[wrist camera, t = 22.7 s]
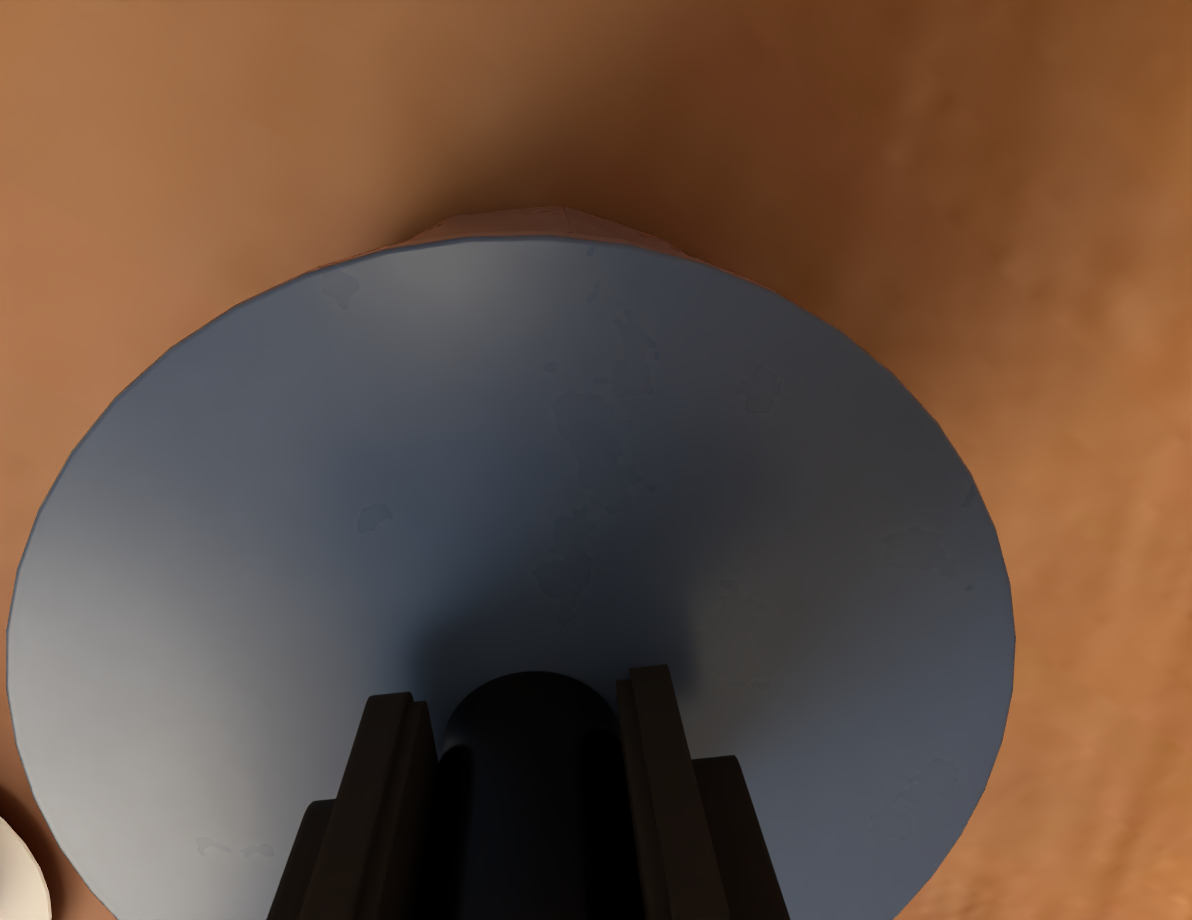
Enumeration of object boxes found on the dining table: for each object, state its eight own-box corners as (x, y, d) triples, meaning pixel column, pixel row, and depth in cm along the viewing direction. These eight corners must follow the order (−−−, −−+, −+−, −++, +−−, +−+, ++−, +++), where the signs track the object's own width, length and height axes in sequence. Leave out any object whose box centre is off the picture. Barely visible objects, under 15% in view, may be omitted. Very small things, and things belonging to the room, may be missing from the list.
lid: (1025, 179, 10) (1582, 210, 5) (940, 957, 16) (1163, 1404, 10) (-105, 277, 10) (-927, 438, 4) (194, 1046, 15) (-6, 1567, 10)
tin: (776, 185, 20) (982, 215, 11) (774, 639, 25) (914, 932, 16) (235, 232, 20) (-41, 305, 10) (341, 684, 24) (219, 1012, 15)
